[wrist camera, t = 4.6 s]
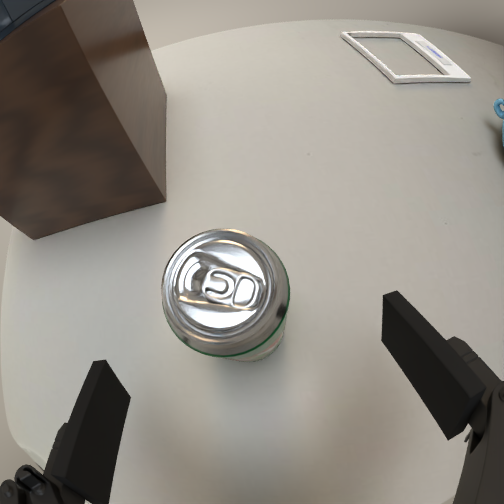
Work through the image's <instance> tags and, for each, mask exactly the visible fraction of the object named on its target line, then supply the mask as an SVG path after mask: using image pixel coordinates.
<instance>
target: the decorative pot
mask: <svg viewBox="0 0 504 504" xmlns="http://www.w3.org/2000/svg"><path fill="white" fill-rule="evenodd" d="M500 104H503V105H504V100H503V99H497V100H496V101H495V102H494V110H495V112H496V114H497V115H498V116H499V117H500V118H502V119H504V111H502V110H501V109H500V106H499V105H500ZM502 141H503V147H504V121H503V126H502Z"/></svg>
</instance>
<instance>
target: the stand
mask: <svg viewBox="0 0 504 504" xmlns="http://www.w3.org/2000/svg"><path fill="white" fill-rule="evenodd" d="M166 100H167V95H166V92H165V89H164V86H163V84H162V81H161V78H160V75H159V73H158V70H157V67H156V64H155V62H154V59H153V56H152V53H151V51H150V48H149V45H148V42H147V39H146V37H145V34H144V31H143V28H142V25H141V22H140V19H139V16H138V14H137V11H136V8H135V5H134V2H133V0H56V1H54V2H53V3H51V4H50V5H48V6H47V7H45V8H44V9H42V10H41V11H39V12H38V13H37V14H35V15H34V16H32V17H31V18H30V19H28V20H27V21H25V22H24V23H23V24H21V25H20V26H19V27H17V28H16V29H15V30H14V31H12V32H11V33H10V34H9V35H7V36H6V37H5V38H4V39H2V40H1V41H0V216H1V217H3V218H4V219H5V220H6V221H8V222H9V223H11V224H12V225H13V226H14V227H16V228H17V229H19V230H20V231H21V232H23V233H24V234H26V235H27V236H29V237H30V238H31V239H33V240H35V239H38V238H41V237H44V236H47V235H50V234H53V233H56V232H59V231H62V230H66V229H69V228H72V227H75V226H78V225H82V224H85V223H88V222H92V221H95V220H98V219H102V218H105V217H109V216H112V215H116V214H119V213H123V212H127V211H130V210H134V209H138V208H142V207H145V206H149V205H153V204H157V203H161V202H165V201H166V160H165V143H166Z"/></svg>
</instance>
